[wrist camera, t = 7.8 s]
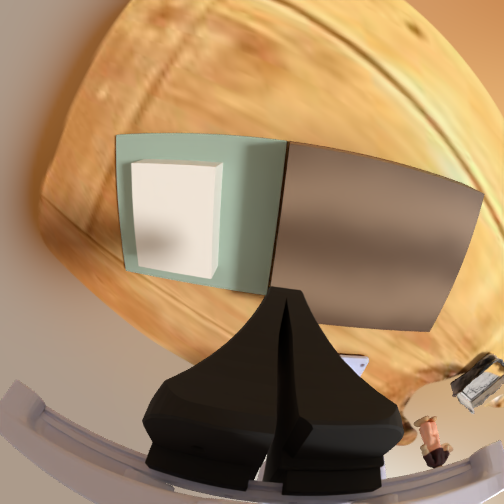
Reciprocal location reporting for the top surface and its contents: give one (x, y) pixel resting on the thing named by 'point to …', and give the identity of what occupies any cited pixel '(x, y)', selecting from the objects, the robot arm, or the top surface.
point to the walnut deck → (371, 238)
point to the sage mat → (232, 201)
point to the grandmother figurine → (431, 442)
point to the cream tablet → (177, 215)
